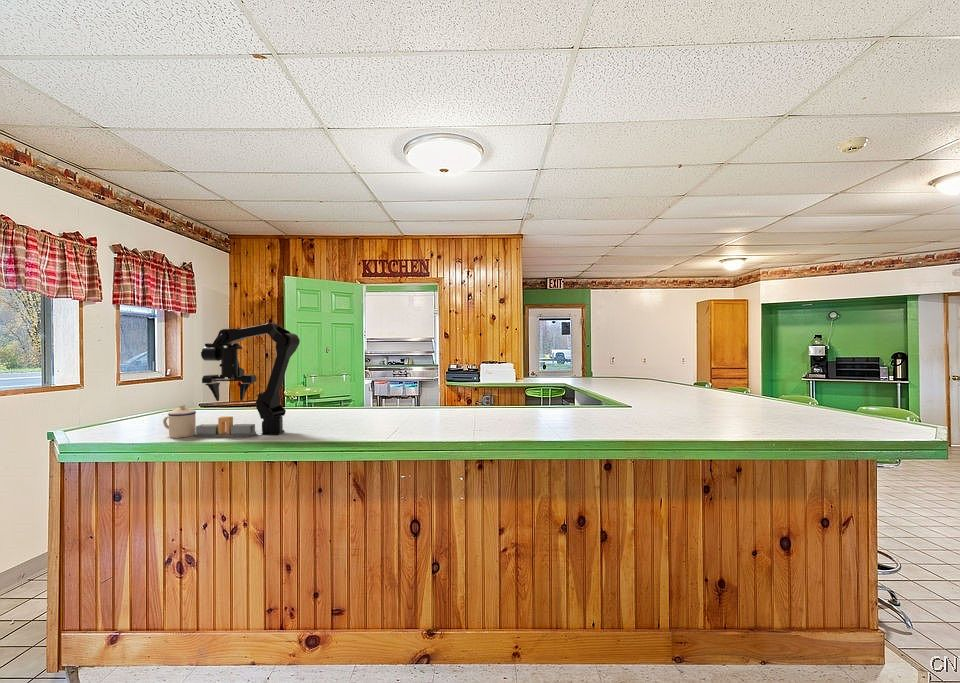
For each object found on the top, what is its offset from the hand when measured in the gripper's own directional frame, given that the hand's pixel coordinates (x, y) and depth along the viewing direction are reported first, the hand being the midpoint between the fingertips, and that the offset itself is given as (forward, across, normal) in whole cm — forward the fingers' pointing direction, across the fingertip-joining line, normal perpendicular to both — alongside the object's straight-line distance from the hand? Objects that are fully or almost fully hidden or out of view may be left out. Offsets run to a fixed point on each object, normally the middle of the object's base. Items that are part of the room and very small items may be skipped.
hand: (229, 400), depth 195 cm
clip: (+11, -2, +8) cm, 14 cm away
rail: (+12, -2, +8) cm, 14 cm away
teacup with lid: (+12, +16, +6) cm, 21 cm away
